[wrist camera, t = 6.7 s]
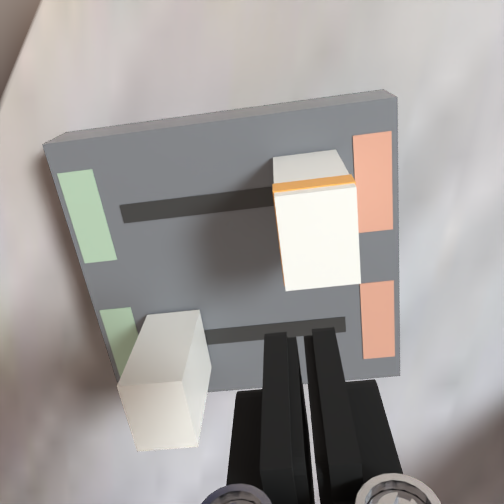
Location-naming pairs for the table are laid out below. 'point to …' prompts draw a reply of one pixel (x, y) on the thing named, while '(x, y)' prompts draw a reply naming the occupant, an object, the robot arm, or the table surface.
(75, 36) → the table surface
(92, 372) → the table surface
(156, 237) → the breaker panel
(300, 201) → the block
